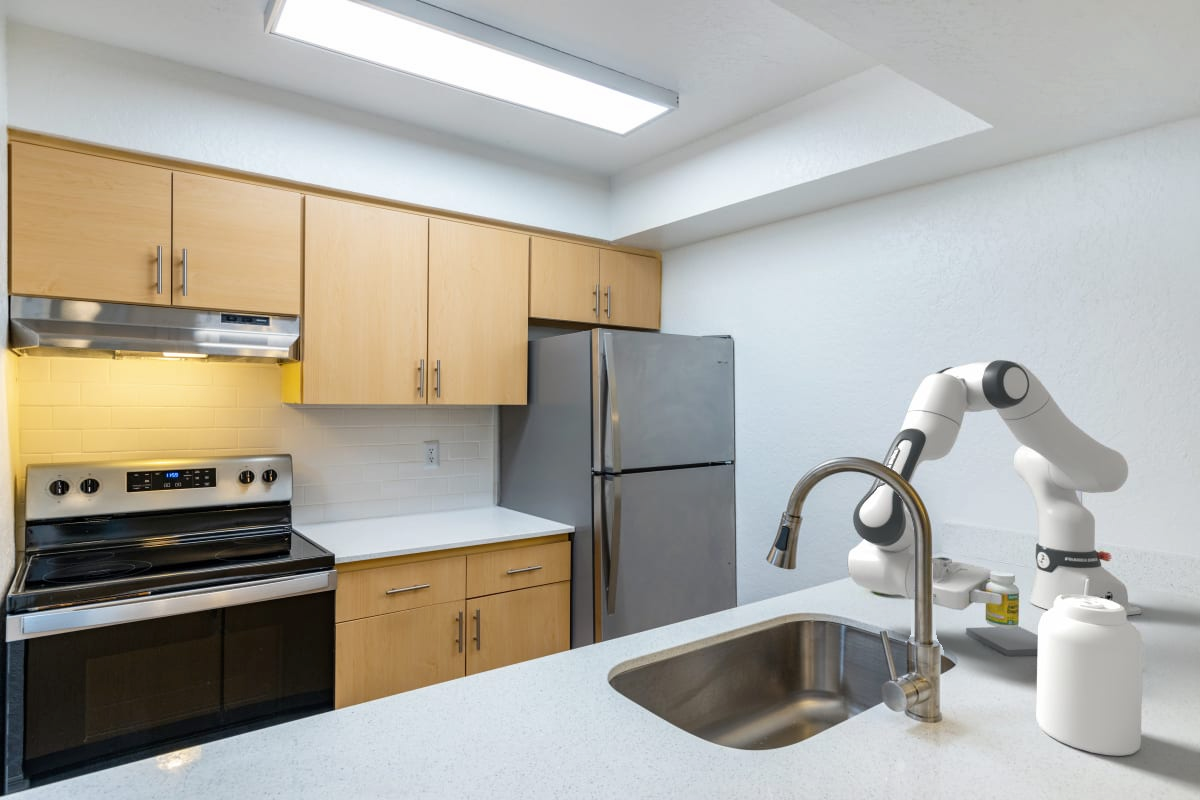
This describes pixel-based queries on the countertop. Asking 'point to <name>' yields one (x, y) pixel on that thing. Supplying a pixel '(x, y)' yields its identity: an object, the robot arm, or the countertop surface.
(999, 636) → the coaster
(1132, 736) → the white plastic jar
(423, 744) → the countertop surface
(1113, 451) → the robot arm
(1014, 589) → the supplement bottle
